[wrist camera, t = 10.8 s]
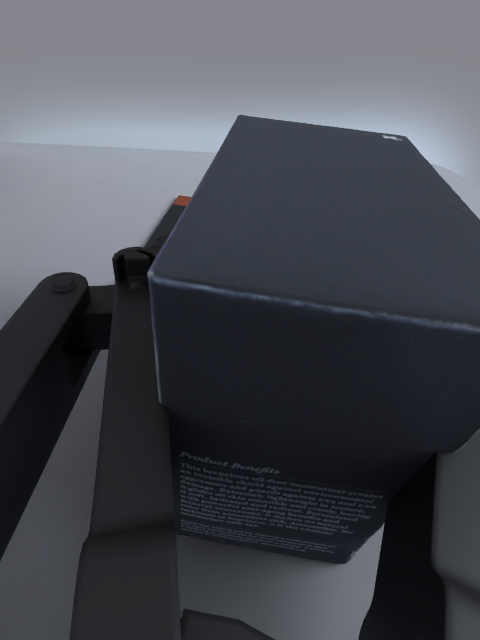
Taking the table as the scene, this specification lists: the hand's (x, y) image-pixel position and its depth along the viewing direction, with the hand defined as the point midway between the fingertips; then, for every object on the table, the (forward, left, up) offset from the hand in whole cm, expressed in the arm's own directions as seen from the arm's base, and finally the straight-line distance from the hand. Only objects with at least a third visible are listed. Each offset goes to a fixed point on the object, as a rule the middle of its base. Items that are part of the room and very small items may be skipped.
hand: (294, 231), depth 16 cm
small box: (0, -6, -6) cm, 8 cm away
